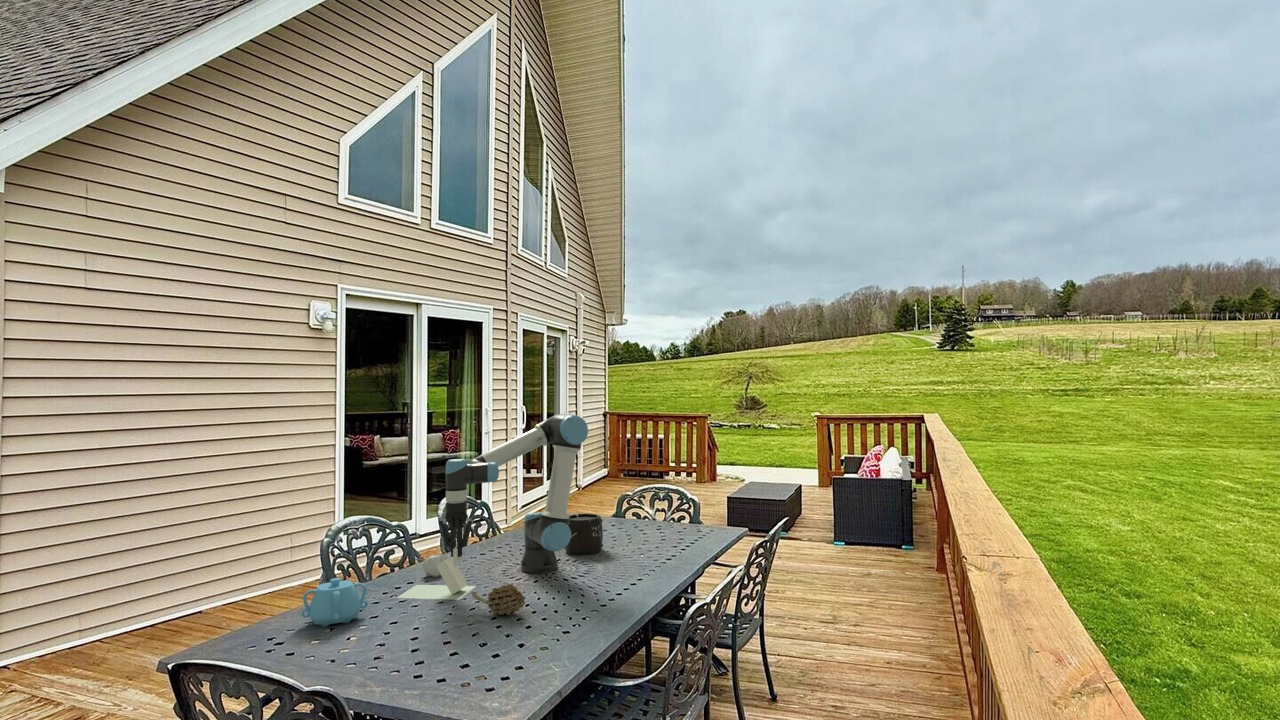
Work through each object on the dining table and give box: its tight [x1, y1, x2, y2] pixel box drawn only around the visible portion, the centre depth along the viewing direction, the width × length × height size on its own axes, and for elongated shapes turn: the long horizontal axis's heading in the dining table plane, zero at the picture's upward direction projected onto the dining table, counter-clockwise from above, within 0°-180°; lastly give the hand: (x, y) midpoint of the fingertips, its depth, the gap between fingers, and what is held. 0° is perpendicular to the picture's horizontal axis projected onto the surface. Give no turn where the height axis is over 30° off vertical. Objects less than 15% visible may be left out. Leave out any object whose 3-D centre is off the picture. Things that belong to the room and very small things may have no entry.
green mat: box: [395, 584, 477, 601], centre depth 246 cm, size 24×16×1 cm, turn 82°
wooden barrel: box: [563, 513, 604, 557], centre depth 303 cm, size 18×18×16 cm
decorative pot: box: [300, 577, 369, 628], centre depth 218 cm, size 16×16×14 cm
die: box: [421, 554, 444, 578], centre depth 268 cm, size 8×9×10 cm
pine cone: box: [471, 583, 526, 616], centre depth 222 cm, size 22×10×10 cm, turn 68°
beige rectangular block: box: [436, 556, 468, 594], centre depth 245 cm, size 4×6×12 cm
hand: (456, 565), depth 245 cm, fingers closed
